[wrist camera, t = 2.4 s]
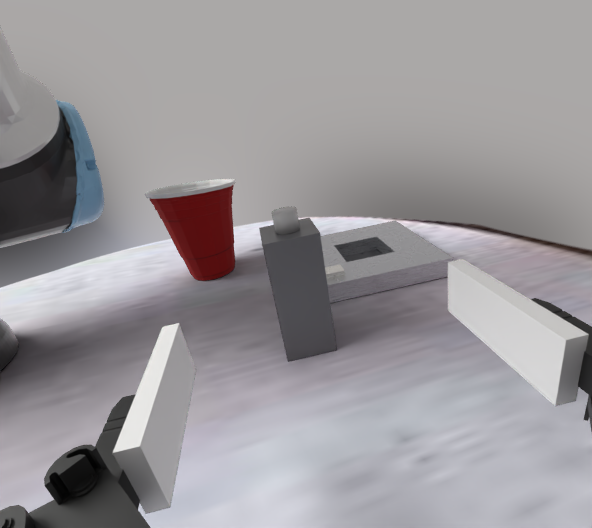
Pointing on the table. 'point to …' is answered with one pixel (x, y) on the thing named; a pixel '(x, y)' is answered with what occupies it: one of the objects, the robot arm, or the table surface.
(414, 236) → the socket
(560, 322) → the robot arm
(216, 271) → the plastic cup
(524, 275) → the table surface
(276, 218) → the plug
